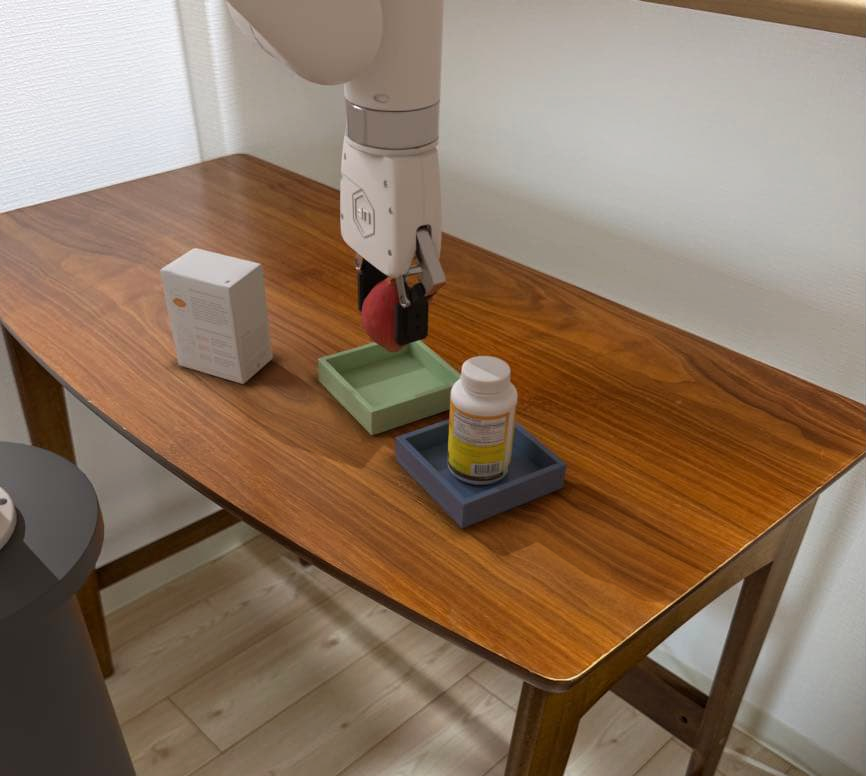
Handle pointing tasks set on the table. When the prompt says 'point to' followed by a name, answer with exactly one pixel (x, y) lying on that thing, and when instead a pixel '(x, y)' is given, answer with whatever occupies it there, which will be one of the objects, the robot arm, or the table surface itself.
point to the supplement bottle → (482, 421)
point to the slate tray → (471, 503)
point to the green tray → (388, 384)
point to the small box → (218, 314)
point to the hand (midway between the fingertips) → (392, 323)
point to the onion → (382, 314)
